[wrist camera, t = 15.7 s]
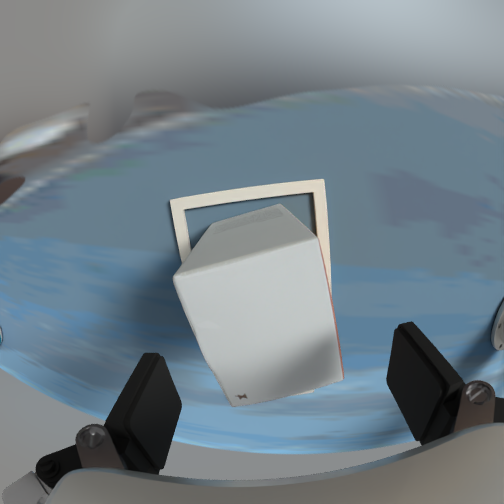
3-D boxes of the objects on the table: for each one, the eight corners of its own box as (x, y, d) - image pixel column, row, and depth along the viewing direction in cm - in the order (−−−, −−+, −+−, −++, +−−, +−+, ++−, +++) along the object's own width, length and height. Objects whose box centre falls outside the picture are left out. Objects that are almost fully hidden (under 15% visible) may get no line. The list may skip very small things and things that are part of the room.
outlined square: (322, 178, 22) (323, 179, 22) (330, 306, 26) (331, 308, 25) (171, 199, 23) (169, 200, 22) (197, 323, 26) (196, 325, 26)
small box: (304, 286, 25) (346, 383, 13) (237, 304, 25) (229, 411, 13) (281, 200, 23) (320, 234, 10) (209, 221, 23) (166, 278, 11)
